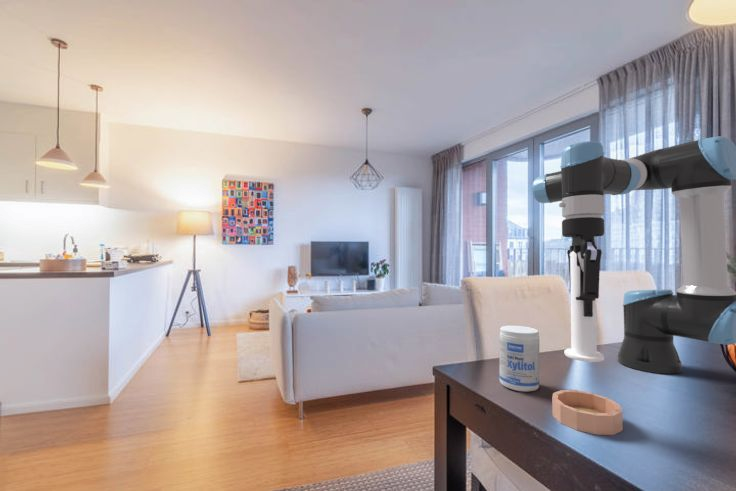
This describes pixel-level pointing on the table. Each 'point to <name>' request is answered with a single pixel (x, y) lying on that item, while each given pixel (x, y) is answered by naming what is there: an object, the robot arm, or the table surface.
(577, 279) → the candle
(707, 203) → the robot arm
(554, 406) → the jar dish
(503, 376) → the supplement tub
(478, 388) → the table surface
